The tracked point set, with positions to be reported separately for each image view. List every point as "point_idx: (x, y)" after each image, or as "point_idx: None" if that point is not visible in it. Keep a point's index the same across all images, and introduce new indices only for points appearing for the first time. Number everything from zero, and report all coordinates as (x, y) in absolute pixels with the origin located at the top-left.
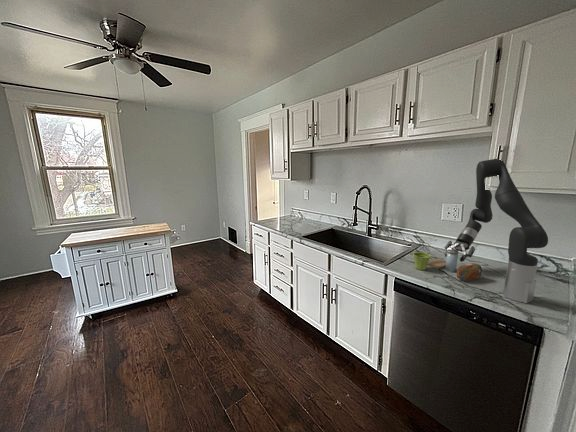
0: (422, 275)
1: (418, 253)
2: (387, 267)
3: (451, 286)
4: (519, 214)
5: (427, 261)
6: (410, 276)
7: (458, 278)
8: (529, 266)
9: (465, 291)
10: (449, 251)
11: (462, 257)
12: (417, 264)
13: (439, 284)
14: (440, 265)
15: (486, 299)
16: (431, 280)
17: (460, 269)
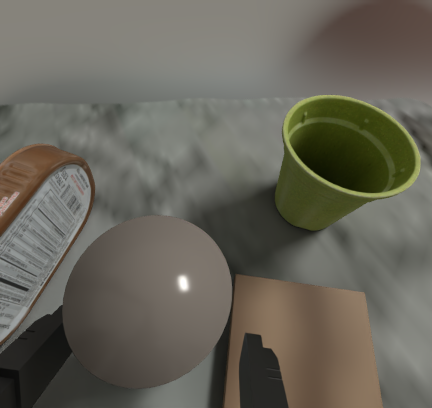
0: (240, 134)
1: (403, 178)
2: (379, 107)
3: (104, 123)
4: None
5: (284, 163)
6: (262, 98)
7: (91, 200)
8: None
9: (47, 120)
10: (175, 225)
11: (37, 329)
12: (313, 153)
13: (148, 109)
14: (253, 319)
15: None
16: (188, 118)
17: (55, 148)
